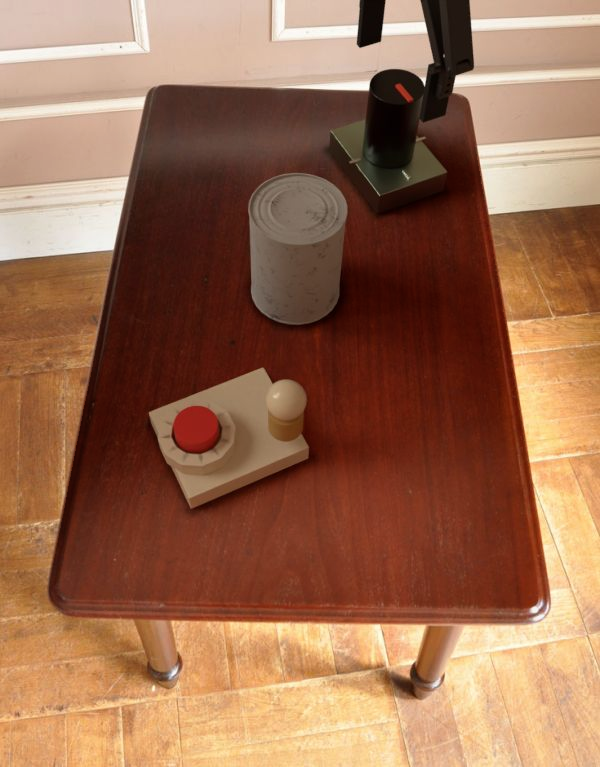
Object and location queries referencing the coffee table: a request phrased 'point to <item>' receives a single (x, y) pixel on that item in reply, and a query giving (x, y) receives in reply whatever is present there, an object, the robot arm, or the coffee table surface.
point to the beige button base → (227, 440)
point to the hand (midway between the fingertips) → (399, 79)
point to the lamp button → (196, 429)
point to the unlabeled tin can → (296, 247)
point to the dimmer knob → (392, 117)
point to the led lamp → (285, 409)
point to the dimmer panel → (386, 171)
